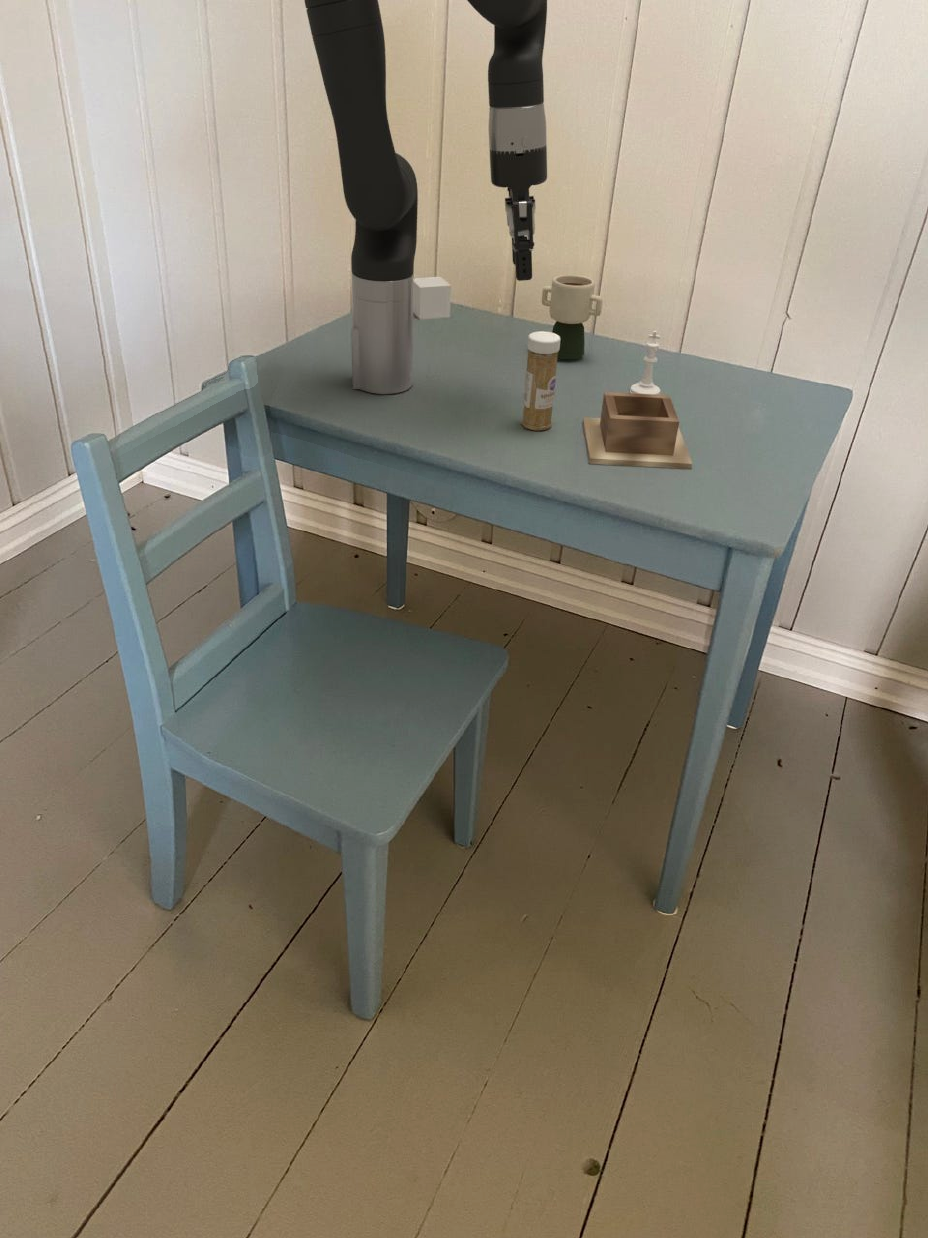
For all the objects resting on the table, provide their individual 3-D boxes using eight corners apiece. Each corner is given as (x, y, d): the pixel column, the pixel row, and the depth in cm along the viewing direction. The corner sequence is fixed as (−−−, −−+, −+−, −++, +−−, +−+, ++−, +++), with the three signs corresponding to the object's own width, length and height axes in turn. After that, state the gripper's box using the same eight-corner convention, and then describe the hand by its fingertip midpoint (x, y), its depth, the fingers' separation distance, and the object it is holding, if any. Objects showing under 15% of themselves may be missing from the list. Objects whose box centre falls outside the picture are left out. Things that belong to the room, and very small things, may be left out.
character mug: (602, 356, 162) (612, 280, 155) (586, 369, 157) (596, 290, 150) (545, 344, 166) (552, 269, 159) (528, 355, 161) (535, 279, 154)
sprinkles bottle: (547, 433, 135) (556, 342, 127) (517, 428, 136) (524, 338, 128) (554, 421, 139) (563, 332, 131) (525, 417, 140) (532, 328, 132)
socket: (589, 463, 127) (594, 424, 124) (582, 422, 139) (587, 384, 136) (691, 468, 127) (699, 429, 124) (675, 426, 139) (682, 389, 135)
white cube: (439, 308, 181) (440, 276, 178) (449, 317, 177) (451, 285, 173) (410, 310, 179) (410, 278, 176) (419, 319, 175) (420, 287, 171)
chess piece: (660, 400, 147) (670, 338, 141) (628, 396, 148) (638, 334, 142) (660, 389, 151) (671, 328, 145) (630, 385, 152) (639, 324, 146)
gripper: (487, 138, 128) (493, 261, 137) (491, 154, 116) (497, 287, 125) (542, 134, 127) (544, 257, 136) (551, 149, 116) (553, 283, 125)
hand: (522, 271), depth 131 cm, fingers open, 8 cm apart
